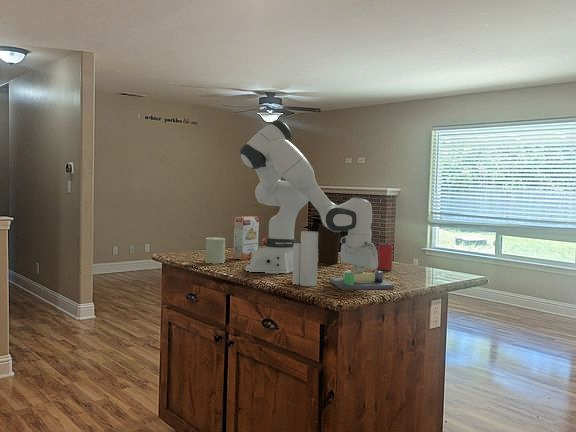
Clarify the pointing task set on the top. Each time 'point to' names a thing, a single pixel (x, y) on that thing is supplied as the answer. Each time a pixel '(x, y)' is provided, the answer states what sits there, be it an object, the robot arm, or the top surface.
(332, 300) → the top surface
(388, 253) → the beer can
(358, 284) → the gauge board
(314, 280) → the candle
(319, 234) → the olive oil
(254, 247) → the cracker box
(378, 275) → the spice jar
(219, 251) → the can
